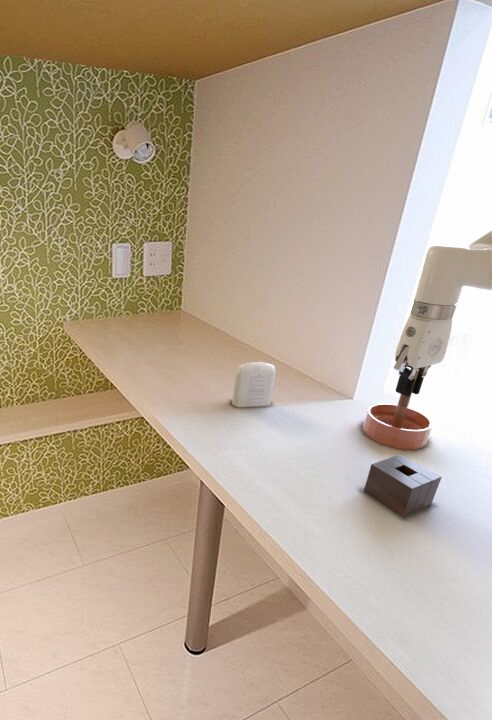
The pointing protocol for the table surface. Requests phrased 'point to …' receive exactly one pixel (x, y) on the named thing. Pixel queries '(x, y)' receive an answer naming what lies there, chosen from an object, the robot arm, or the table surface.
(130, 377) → the table surface
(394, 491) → the stand
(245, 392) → the photo printer
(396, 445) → the bowl
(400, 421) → the stick
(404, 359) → the robot arm
